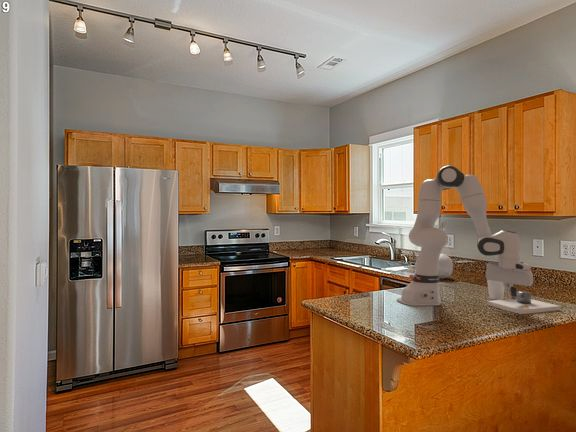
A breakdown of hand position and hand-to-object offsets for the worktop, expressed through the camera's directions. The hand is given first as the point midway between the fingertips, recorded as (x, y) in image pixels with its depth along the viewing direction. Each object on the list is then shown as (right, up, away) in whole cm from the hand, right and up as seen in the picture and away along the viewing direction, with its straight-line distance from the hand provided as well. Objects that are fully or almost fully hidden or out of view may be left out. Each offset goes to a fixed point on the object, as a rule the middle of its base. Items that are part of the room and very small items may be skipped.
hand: (508, 292), depth 177 cm
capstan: (+7, -6, +2) cm, 9 cm away
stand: (+9, -8, +3) cm, 13 cm away
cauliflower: (0, -8, +88) cm, 89 cm away
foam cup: (+6, -9, +21) cm, 24 cm away
